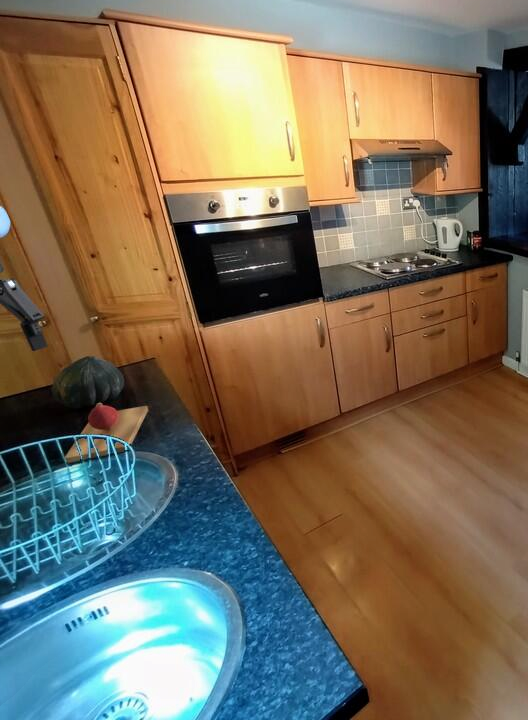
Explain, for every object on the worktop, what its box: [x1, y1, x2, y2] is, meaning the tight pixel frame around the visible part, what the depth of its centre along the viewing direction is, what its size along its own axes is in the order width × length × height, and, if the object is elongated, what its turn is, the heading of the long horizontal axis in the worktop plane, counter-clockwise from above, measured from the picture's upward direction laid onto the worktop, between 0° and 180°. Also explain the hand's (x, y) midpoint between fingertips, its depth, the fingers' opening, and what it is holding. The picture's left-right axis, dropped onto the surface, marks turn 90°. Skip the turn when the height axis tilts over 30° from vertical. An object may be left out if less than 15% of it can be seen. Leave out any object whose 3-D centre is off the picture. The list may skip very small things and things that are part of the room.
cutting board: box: [64, 405, 149, 464], centre depth 118 cm, size 12×20×2 cm, turn 25°
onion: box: [87, 402, 119, 430], centre depth 116 cm, size 6×6×8 cm
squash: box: [51, 355, 125, 409], centre depth 130 cm, size 14×15×15 cm
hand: (14, 346), depth 105 cm, fingers open, 13 cm apart
